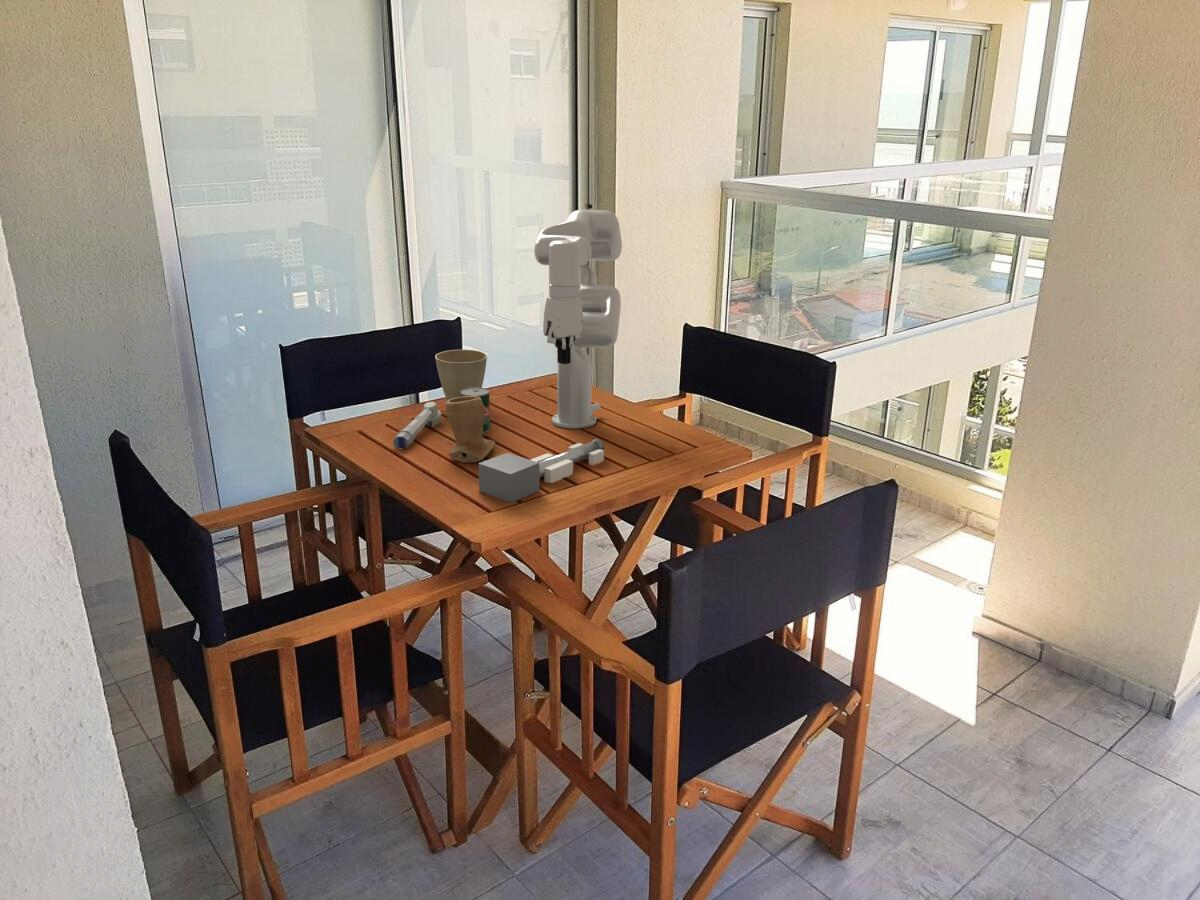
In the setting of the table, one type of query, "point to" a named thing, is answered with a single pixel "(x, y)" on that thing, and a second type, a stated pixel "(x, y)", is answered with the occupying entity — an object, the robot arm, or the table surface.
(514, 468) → the socket block
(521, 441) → the table surface
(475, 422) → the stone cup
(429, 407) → the white handheld tool
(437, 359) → the plant pot
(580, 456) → the slip tube
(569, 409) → the robot arm
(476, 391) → the canned tomato
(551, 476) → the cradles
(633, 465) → the table surface
